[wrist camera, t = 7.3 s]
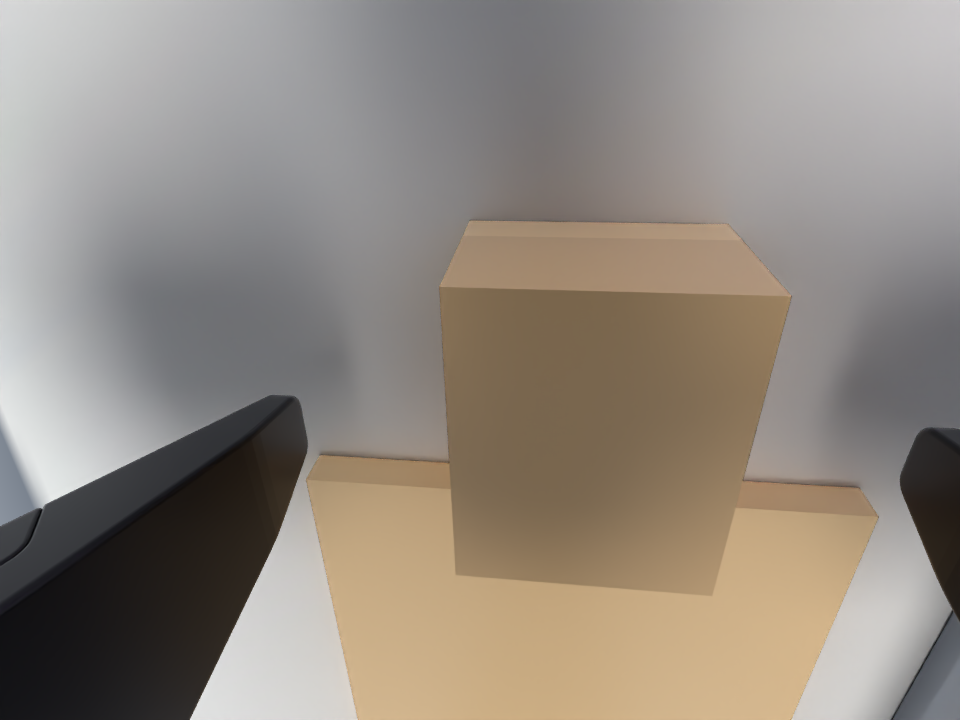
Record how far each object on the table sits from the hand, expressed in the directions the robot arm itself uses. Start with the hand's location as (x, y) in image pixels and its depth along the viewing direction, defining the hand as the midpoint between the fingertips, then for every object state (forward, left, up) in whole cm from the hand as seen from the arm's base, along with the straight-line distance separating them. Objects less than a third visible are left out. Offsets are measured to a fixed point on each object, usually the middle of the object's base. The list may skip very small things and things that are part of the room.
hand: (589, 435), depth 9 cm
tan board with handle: (-7, 0, -2) cm, 8 cm away
